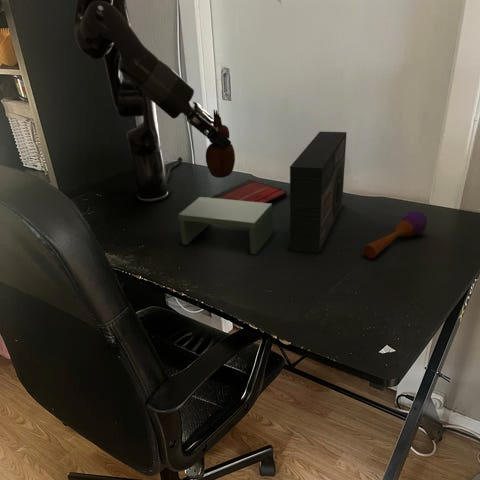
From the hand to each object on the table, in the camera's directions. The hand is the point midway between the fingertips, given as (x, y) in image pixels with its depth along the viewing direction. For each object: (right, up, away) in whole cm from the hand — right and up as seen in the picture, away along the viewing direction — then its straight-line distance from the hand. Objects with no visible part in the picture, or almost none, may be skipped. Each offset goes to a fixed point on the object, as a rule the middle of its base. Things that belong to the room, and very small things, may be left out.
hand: (227, 142), depth 110 cm
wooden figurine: (-1, -6, +4) cm, 8 cm away
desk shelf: (0, -20, +13) cm, 24 cm away
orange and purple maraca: (+40, -22, +5) cm, 46 cm away
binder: (+5, -5, +34) cm, 35 cm away
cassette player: (+23, -16, +16) cm, 33 cm away
